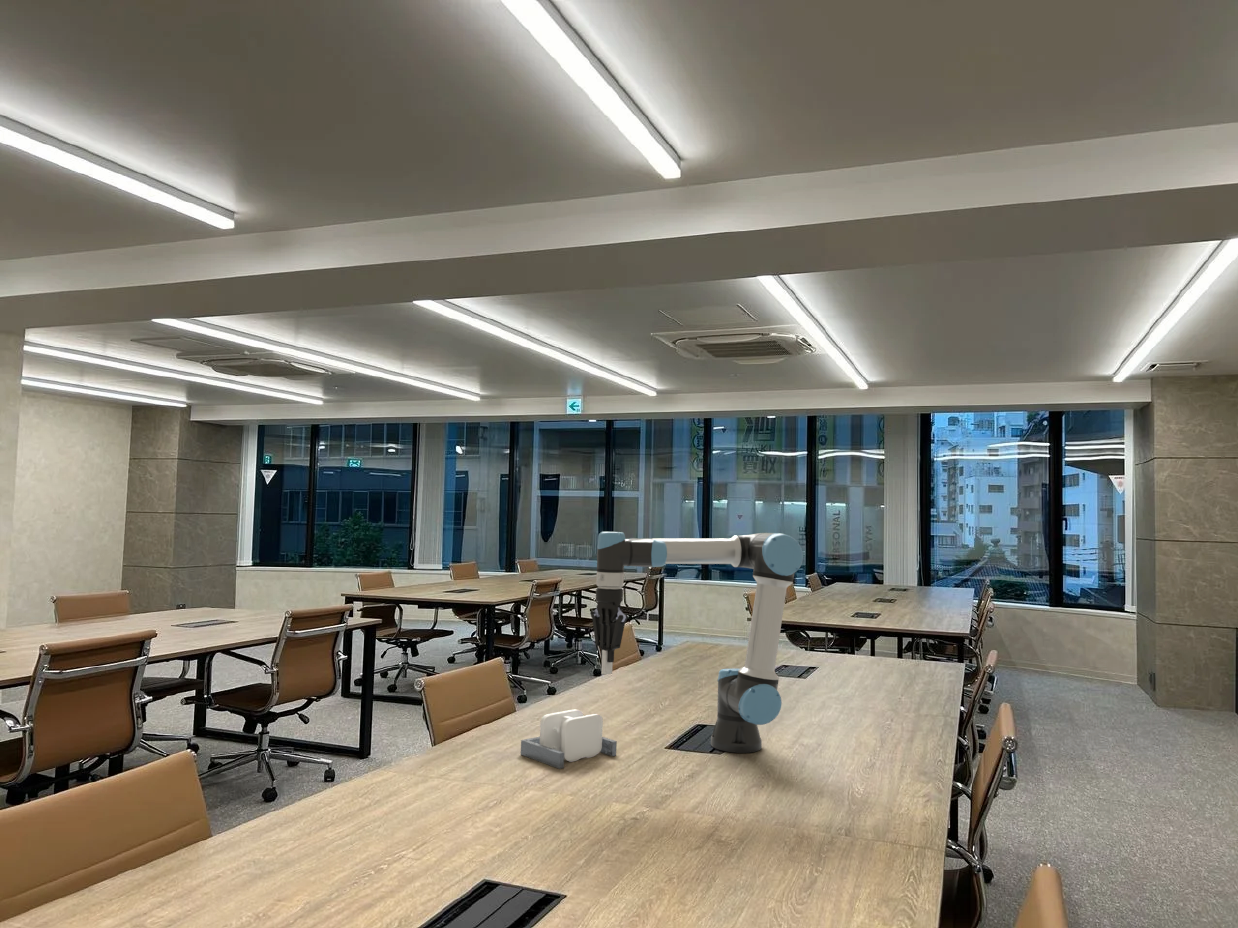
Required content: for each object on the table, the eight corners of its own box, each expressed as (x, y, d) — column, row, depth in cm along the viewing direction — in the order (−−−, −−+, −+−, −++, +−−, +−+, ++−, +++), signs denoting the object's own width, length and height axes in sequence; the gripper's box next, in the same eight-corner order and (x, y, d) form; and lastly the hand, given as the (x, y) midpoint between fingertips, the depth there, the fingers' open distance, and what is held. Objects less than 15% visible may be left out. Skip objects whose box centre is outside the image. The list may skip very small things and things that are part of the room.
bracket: (616, 755, 238) (616, 740, 238) (559, 768, 223) (559, 753, 224) (576, 742, 250) (577, 728, 250) (520, 754, 236) (521, 739, 236)
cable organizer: (562, 764, 227) (564, 721, 228) (537, 756, 235) (539, 714, 235) (602, 755, 238) (603, 713, 239) (577, 747, 245) (578, 706, 246)
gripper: (583, 585, 234) (580, 671, 233) (616, 589, 225) (613, 678, 223) (603, 585, 240) (600, 668, 238) (635, 588, 230) (633, 675, 229)
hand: (606, 673), depth 231 cm, fingers closed
